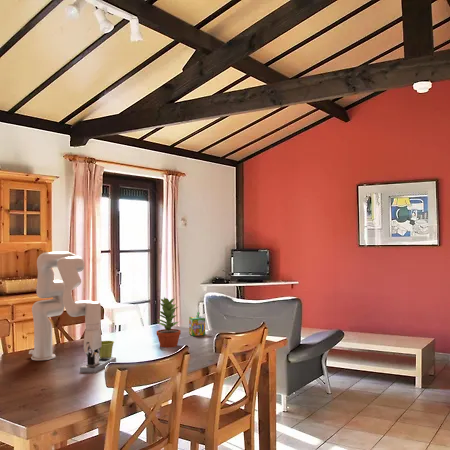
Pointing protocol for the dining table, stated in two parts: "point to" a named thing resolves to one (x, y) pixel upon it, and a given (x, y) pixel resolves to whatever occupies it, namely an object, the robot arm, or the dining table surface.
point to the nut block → (95, 359)
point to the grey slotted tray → (102, 363)
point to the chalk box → (197, 325)
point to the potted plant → (168, 325)
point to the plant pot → (106, 349)
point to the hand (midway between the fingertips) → (93, 363)
